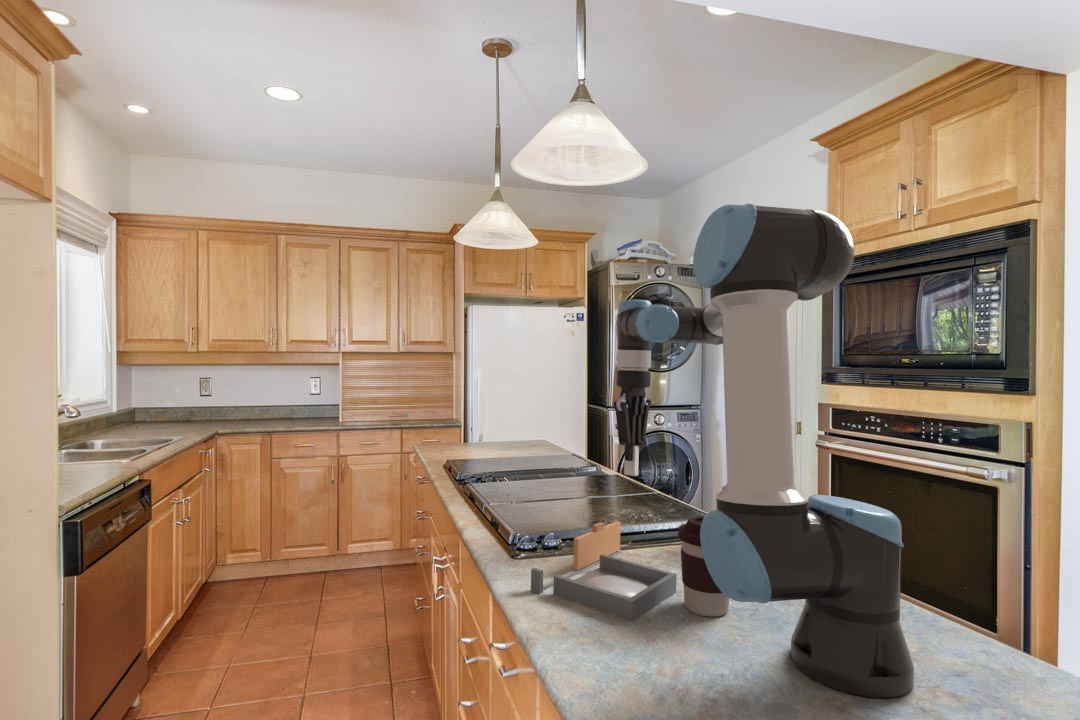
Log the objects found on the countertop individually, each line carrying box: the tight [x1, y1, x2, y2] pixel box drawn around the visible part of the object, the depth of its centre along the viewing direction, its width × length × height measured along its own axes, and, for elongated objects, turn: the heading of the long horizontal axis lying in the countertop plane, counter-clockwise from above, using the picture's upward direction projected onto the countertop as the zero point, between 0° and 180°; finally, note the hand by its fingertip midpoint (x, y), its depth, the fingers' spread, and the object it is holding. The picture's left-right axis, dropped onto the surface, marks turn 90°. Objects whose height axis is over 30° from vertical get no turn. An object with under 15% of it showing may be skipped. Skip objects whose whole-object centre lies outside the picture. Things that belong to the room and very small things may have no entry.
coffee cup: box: [677, 515, 731, 618], centre depth 100 cm, size 10×10×15 cm
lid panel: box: [572, 521, 621, 570], centre depth 121 cm, size 1×16×7 cm, turn 142°
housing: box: [530, 549, 678, 623], centre depth 111 cm, size 20×30×4 cm
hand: (631, 474), depth 131 cm, fingers closed
